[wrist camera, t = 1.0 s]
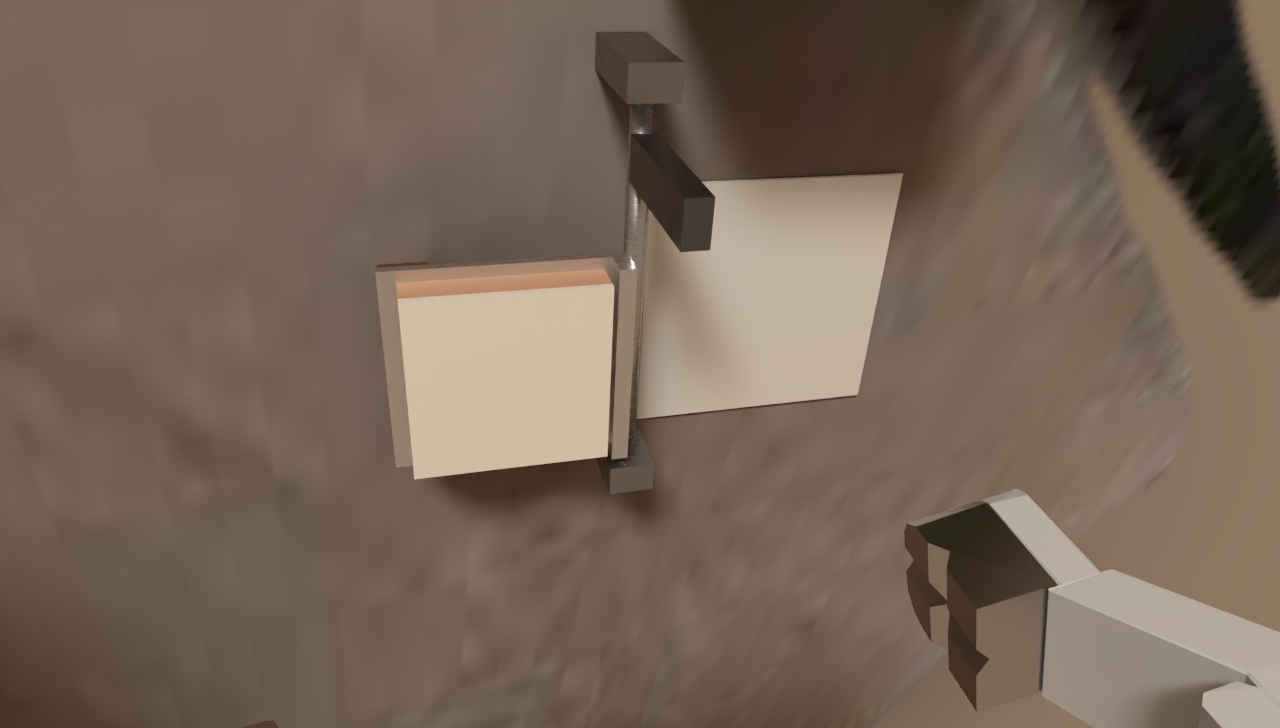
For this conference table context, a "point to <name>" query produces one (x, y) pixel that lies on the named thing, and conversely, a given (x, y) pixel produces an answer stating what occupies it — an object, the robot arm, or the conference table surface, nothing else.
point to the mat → (766, 295)
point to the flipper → (650, 186)
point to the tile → (507, 370)
